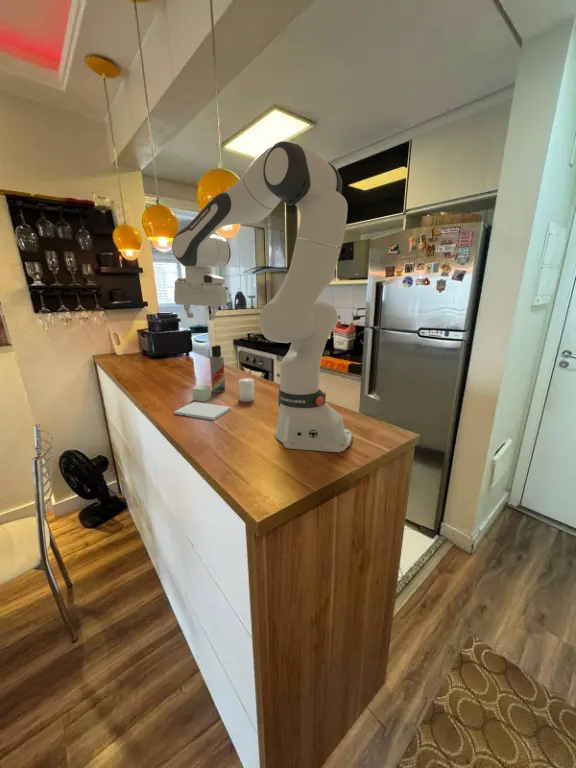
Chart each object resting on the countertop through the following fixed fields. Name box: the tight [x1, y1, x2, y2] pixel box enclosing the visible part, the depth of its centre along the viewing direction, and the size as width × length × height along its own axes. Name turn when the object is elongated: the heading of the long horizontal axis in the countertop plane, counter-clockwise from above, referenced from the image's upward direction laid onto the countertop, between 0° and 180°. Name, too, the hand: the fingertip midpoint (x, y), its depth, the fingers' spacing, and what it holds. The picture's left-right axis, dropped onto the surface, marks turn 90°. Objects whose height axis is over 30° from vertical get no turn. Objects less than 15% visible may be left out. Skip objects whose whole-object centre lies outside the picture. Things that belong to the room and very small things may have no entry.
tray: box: [174, 401, 232, 421], centre depth 110 cm, size 16×11×1 cm
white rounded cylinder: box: [238, 377, 255, 403], centre depth 122 cm, size 6×6×8 cm
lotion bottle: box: [209, 344, 226, 393], centre depth 132 cm, size 6×6×20 cm
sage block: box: [191, 384, 212, 402], centre depth 123 cm, size 5×5×5 cm
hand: (201, 318), depth 111 cm, fingers open, 8 cm apart
